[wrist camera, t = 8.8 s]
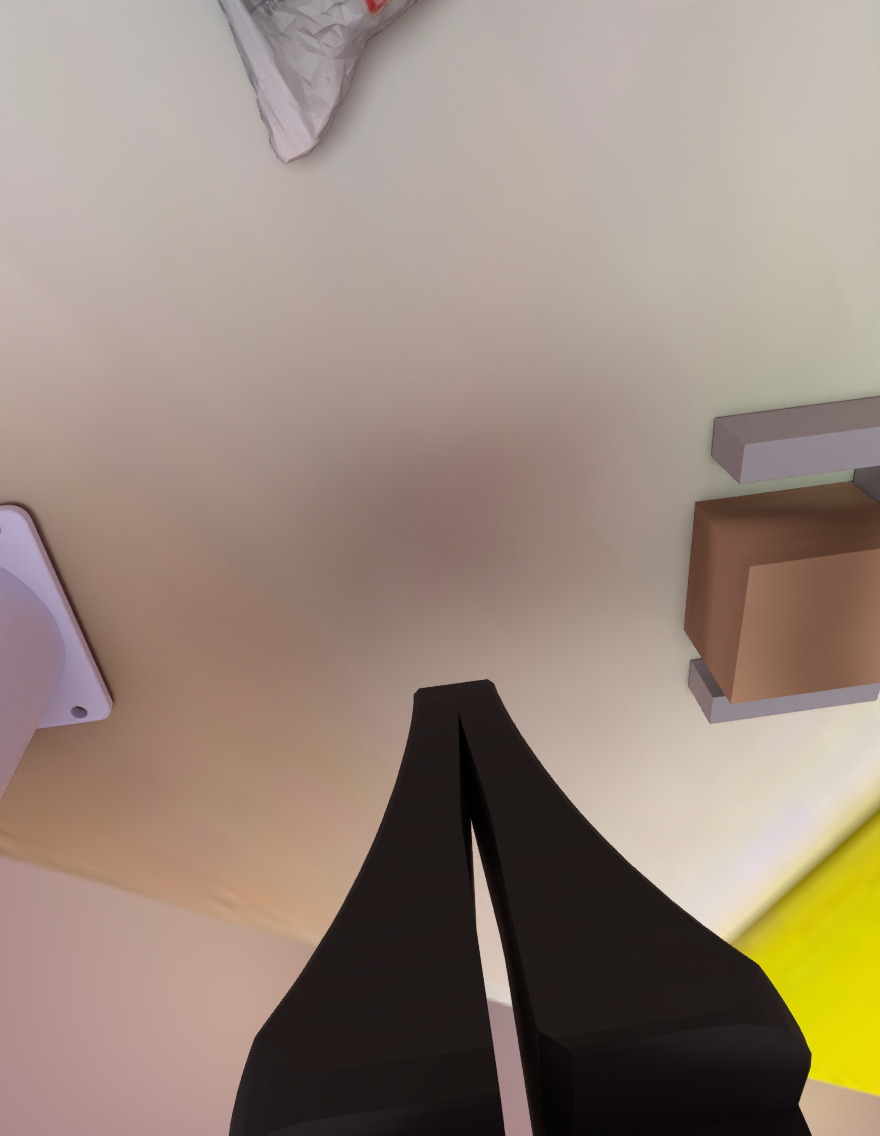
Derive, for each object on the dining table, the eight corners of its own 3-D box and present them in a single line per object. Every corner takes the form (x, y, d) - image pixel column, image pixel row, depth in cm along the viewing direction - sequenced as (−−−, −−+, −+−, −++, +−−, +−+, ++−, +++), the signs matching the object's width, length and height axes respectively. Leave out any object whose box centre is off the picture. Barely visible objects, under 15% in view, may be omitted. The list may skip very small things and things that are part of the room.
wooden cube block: (682, 627, 27) (730, 703, 23) (693, 500, 24) (750, 566, 20) (821, 607, 27) (889, 681, 23) (848, 479, 24) (929, 541, 21)
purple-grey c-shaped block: (688, 685, 28) (710, 723, 26) (715, 418, 22) (744, 444, 21) (845, 663, 28) (876, 700, 26) (910, 392, 22) (955, 416, 21)
